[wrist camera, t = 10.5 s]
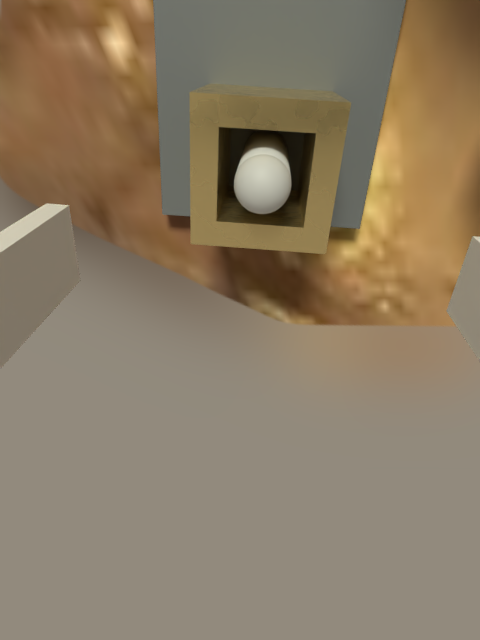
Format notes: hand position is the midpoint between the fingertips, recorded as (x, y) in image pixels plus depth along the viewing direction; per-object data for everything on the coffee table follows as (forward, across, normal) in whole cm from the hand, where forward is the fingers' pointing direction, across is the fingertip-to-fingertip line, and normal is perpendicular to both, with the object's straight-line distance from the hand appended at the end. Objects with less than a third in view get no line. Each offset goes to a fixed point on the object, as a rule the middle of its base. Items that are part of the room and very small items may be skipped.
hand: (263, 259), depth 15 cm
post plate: (+20, 0, -6) cm, 21 cm away
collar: (+18, 0, 0) cm, 19 cm away
